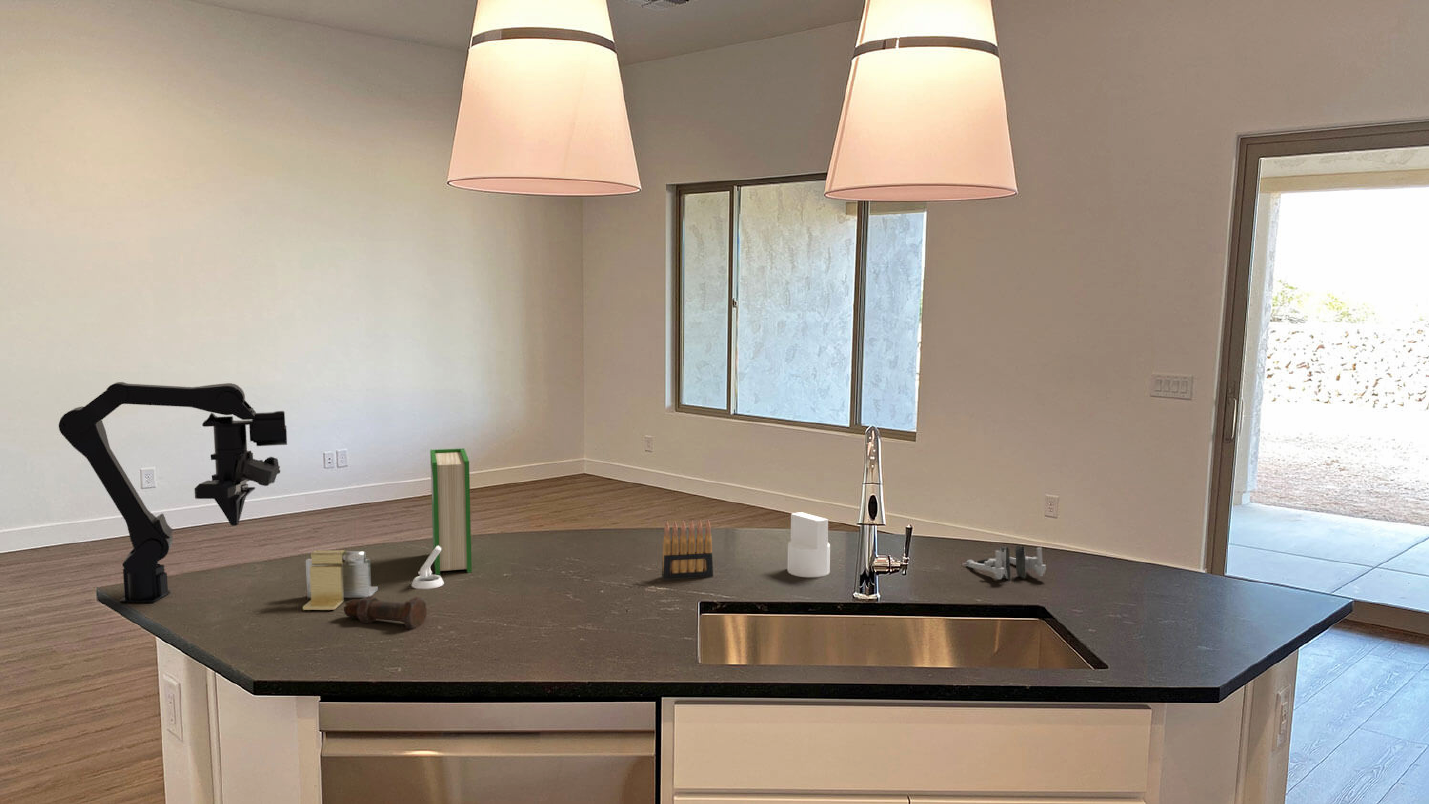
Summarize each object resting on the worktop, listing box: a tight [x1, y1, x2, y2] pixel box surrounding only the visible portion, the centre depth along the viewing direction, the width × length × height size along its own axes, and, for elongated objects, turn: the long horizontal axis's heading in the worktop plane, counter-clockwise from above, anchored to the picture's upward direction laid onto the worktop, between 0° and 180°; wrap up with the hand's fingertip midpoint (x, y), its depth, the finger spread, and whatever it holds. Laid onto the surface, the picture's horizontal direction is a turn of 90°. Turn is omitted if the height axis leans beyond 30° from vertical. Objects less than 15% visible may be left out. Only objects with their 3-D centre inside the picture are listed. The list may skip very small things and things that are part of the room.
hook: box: [411, 545, 445, 590], centre depth 200 cm, size 6×10×6 cm
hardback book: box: [429, 448, 473, 576], centre depth 215 cm, size 18×7×24 cm, turn 17°
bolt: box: [343, 595, 428, 630], centre depth 178 cm, size 6×5×15 cm
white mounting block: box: [305, 550, 379, 599], centre depth 192 cm, size 12×8×10 cm
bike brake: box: [962, 544, 1047, 581], centre depth 212 cm, size 14×7×20 cm
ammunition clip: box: [661, 519, 714, 581], centre depth 206 cm, size 11×2×12 cm, turn 102°
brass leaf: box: [302, 549, 347, 611], centre depth 186 cm, size 6×7×10 cm
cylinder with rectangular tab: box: [787, 511, 831, 578], centre depth 211 cm, size 9×9×12 cm
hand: (234, 525), depth 195 cm, fingers closed
